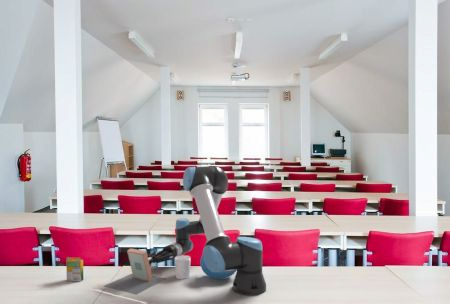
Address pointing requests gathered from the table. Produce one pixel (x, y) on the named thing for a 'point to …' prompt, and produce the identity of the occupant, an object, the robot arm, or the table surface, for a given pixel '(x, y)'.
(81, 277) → the crayon box
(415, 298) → the table surface
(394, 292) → the table surface
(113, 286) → the mat
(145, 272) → the tile
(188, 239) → the robot arm
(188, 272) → the white cup
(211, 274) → the educational model
